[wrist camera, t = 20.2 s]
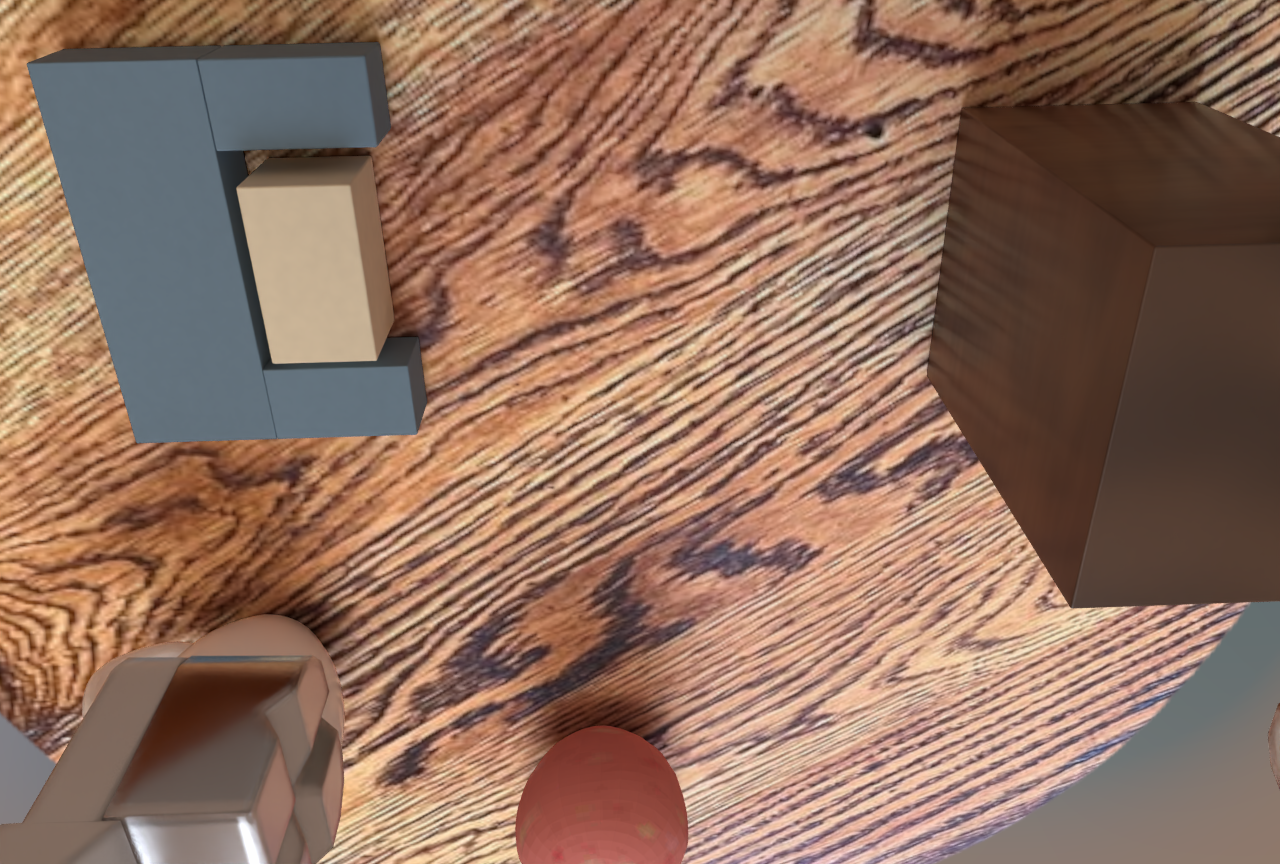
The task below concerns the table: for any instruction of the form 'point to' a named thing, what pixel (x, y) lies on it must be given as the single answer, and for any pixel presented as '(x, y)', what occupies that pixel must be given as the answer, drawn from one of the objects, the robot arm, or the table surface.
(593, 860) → the apple
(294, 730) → the robot arm
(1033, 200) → the block
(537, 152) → the table surface
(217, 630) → the cup
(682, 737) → the table surface
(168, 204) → the u-shaped bracket
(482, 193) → the table surface
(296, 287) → the beige block
